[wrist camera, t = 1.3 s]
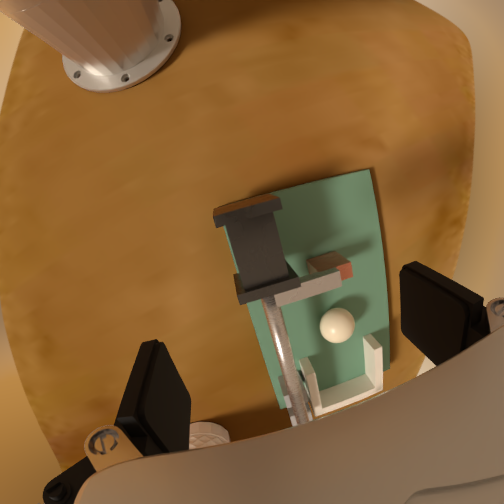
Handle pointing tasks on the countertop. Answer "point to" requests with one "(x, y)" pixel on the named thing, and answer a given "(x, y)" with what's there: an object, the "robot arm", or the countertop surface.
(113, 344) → the countertop surface
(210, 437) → the white cup
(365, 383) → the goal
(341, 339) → the ball
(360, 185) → the board
